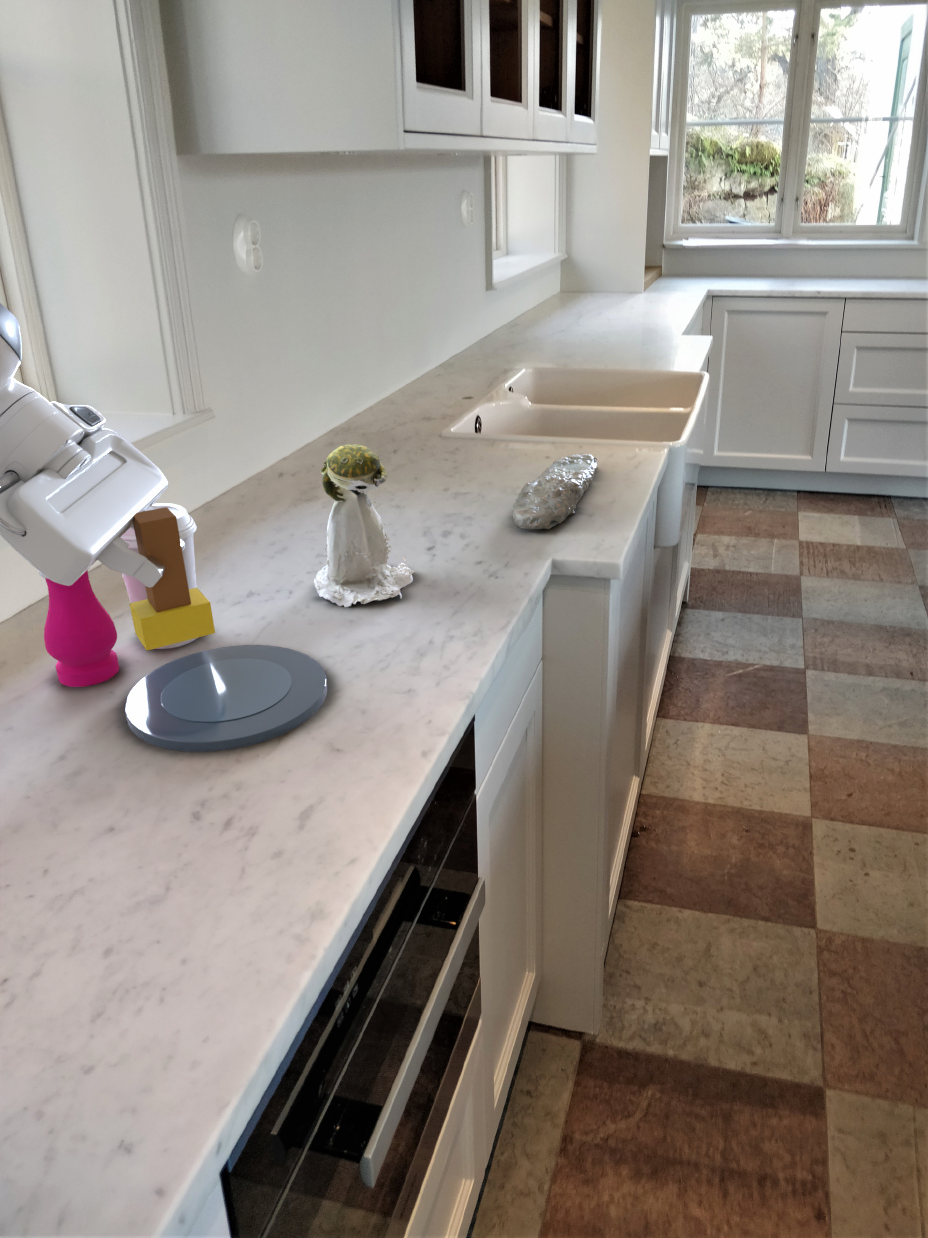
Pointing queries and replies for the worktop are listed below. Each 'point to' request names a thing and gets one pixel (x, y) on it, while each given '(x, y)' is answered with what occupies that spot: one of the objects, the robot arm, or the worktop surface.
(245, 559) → the worktop surface
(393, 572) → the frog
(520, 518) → the elongated rock
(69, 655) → the pepper mill
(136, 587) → the coffee cup
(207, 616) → the sponge brush
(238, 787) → the worktop surface
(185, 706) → the plate
